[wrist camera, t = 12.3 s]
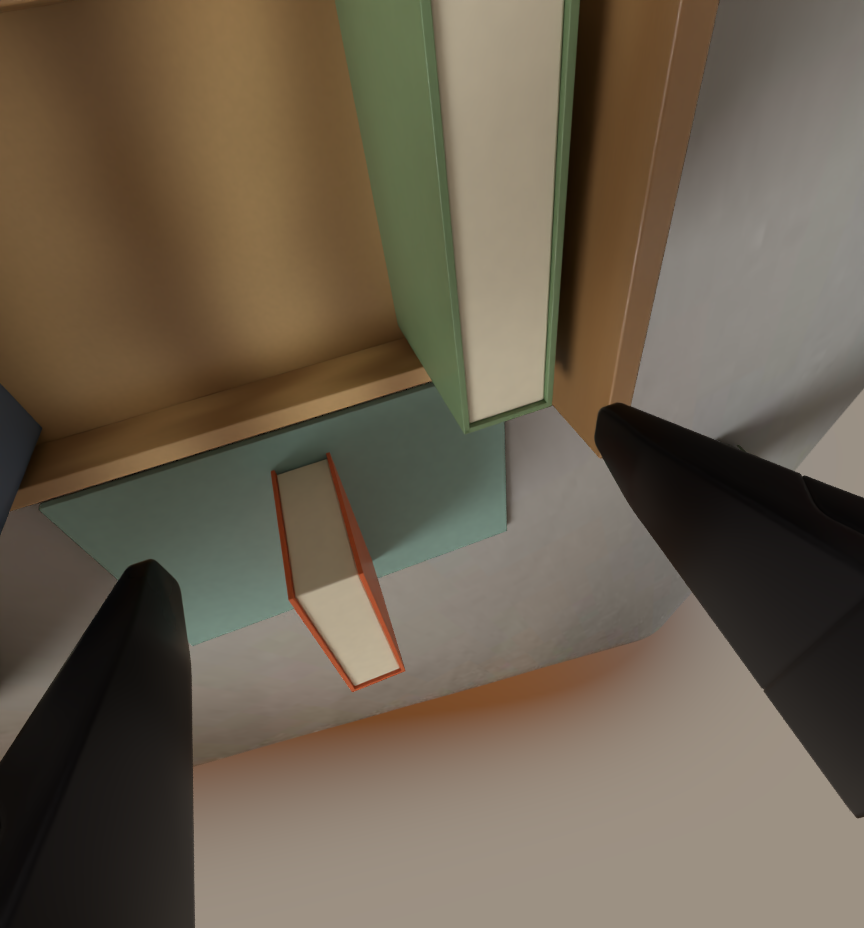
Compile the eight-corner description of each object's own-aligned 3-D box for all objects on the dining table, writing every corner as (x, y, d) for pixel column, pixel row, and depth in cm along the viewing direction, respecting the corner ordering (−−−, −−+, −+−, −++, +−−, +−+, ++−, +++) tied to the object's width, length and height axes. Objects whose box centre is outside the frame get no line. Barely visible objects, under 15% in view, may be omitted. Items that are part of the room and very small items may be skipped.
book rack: (478, -115, 13) (778, -256, 6) (493, 316, 22) (621, 451, 16) (-587, 49, 10) (-2476, 137, 3) (-51, 477, 19) (-198, 742, 12)
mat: (500, 360, 24) (503, 364, 24) (504, 526, 34) (507, 531, 34) (39, 503, 21) (37, 509, 21) (192, 640, 31) (192, 646, 31)
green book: (437, -29, 13) (583, -55, 8) (464, 306, 20) (552, 406, 15) (332, -10, 13) (417, -24, 8) (397, 325, 20) (464, 435, 15)
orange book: (329, 451, 24) (363, 573, 19) (372, 561, 31) (405, 671, 26) (270, 471, 24) (288, 600, 18) (327, 577, 31) (352, 692, 25)
